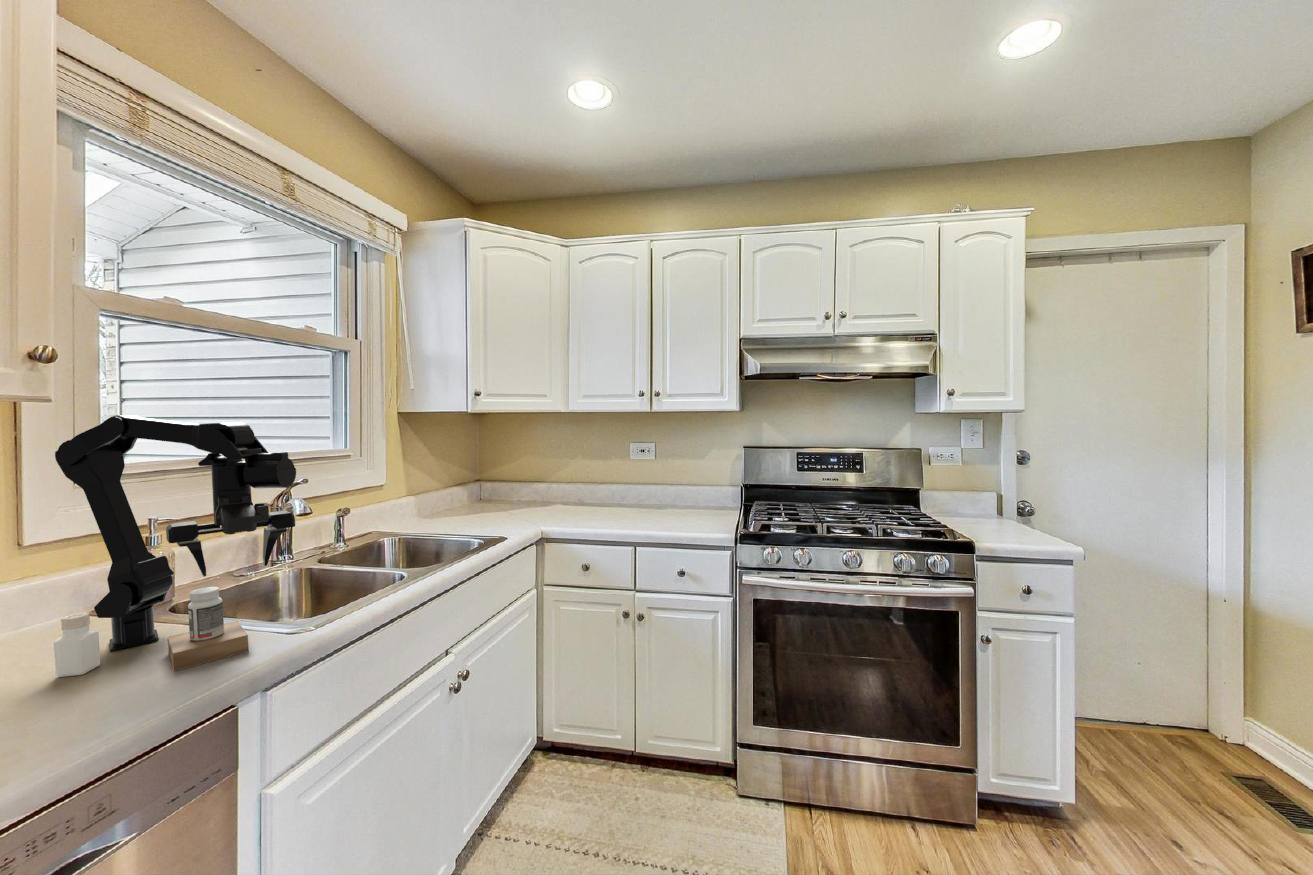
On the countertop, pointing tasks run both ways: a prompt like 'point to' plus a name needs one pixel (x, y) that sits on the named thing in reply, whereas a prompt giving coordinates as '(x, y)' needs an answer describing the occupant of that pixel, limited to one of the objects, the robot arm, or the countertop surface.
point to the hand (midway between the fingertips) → (235, 570)
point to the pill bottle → (205, 614)
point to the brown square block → (207, 647)
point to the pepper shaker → (76, 646)
